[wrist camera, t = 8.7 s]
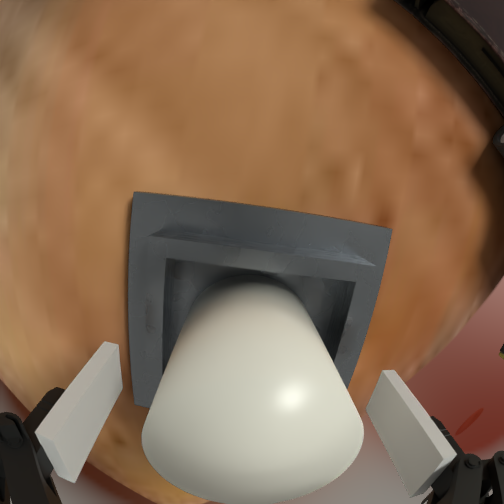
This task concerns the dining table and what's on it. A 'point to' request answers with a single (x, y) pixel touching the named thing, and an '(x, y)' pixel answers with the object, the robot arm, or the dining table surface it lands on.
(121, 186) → the dining table surface
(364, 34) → the dining table surface
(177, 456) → the plug
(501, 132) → the film camera
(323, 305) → the grey square tray
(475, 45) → the diary
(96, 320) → the dining table surface
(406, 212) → the dining table surface
